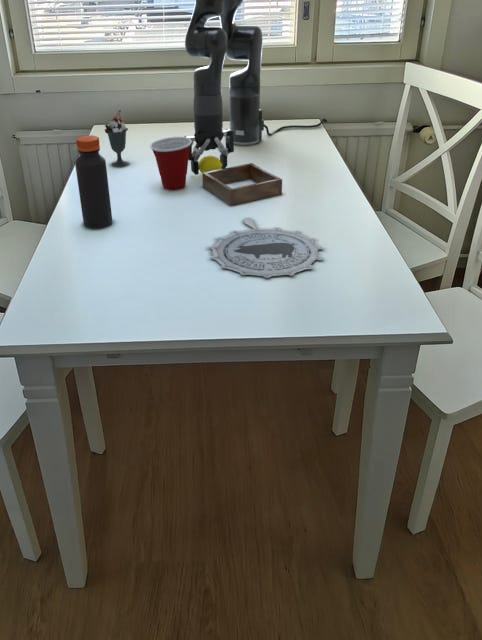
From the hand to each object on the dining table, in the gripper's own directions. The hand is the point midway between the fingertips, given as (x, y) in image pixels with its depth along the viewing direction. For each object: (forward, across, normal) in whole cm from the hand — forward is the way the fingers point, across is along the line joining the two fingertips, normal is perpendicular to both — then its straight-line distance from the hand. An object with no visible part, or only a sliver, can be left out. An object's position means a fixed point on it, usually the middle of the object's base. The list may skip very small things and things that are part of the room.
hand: (209, 171), depth 175 cm
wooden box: (+1, +2, -15) cm, 15 cm away
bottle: (+1, -38, -16) cm, 41 cm away
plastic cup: (+1, -12, -3) cm, 13 cm away
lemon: (+1, 0, 0) cm, 1 cm away
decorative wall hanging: (+1, -11, -46) cm, 47 cm away
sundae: (+1, -18, +22) cm, 28 cm away
